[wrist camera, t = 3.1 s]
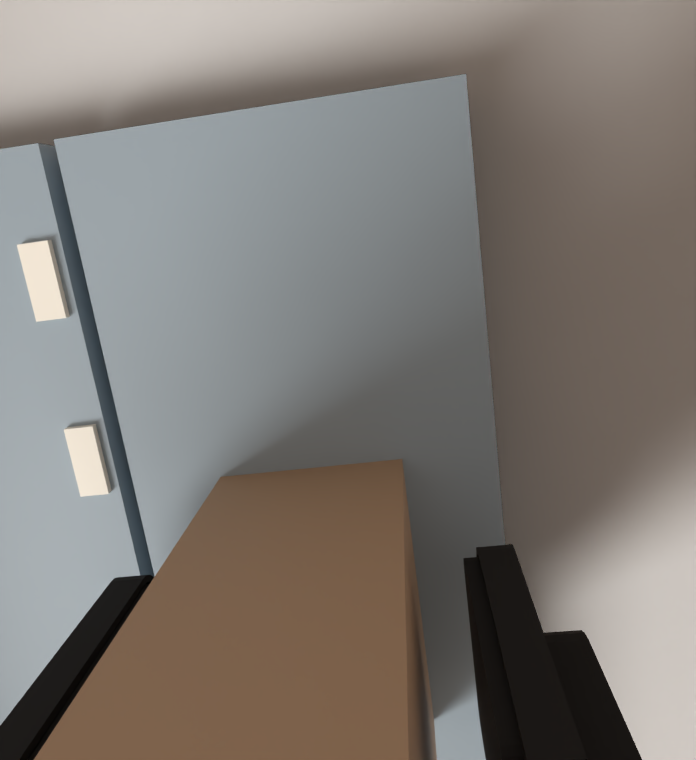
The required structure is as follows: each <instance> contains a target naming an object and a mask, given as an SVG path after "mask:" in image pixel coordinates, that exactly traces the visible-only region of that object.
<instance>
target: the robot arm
mask: <svg viewBox="0 0 696 760" xmlns="http://www.w3.org/2000/svg"><path fill="white" fill-rule="evenodd" d="M463 562H464V573H465V583H466V593H467V603H468V613H469V622H470V632H471V642H472V652H473V662H474V672H475V682H476V692H477V701H478V711H479V719H480V726H481V733H482V739H483V746H484V752H485V758H486V760H642V759H641V757H640V754H639V752H638V750H637V748H636V745H635V743H634V741H633V739H632V736H631V734H630V732H629V730H628V727H627V725H626V723H625V721H624V718H623V716H622V714H621V712H620V709H619V707H618V705H617V703H616V700H615V698H614V696H613V694H612V691H611V689H610V687H609V685H608V682H607V680H606V678H605V676H604V673H603V671H602V669H601V667H600V664H599V662H598V660H597V658H596V655H595V653H594V651H593V649H592V646H591V644H590V642H589V640H588V638H587V636H586V634H585V633H584V632H583V631H582V630H579V631H564V632H550V633H543V630H542V627H541V625H540V622H539V619H538V616H537V613H536V610H535V607H534V604H533V601H532V599H531V596H530V593H529V590H528V587H527V584H526V581H525V578H524V575H523V573H522V570H521V567H520V564H519V561H518V558H517V555H516V552H515V549H514V547H513V545H512V544H509V545H497V546H486V547H476V557H470V558H463ZM153 578H154V577H153V576H152V575H139V576H127V577H117V578H114V579H113V580H112V581H111V582H110V583H109V585H108V586H107V587H106V589H105V590H104V591H103V593H102V594H101V595H100V596H99V598H98V599H97V600H96V602H95V603H94V604H93V606H92V607H91V608H90V610H89V611H88V612H87V613H86V615H85V616H84V617H83V619H82V620H81V621H80V623H79V624H78V625H77V626H76V628H75V629H74V630H73V632H72V633H71V634H70V636H69V637H68V638H67V639H66V641H65V642H64V643H63V645H62V646H61V647H60V649H59V650H58V651H57V652H56V654H55V655H54V656H53V658H52V659H51V660H50V662H49V663H48V664H47V665H46V667H45V668H44V669H43V671H42V672H41V673H40V675H39V676H38V677H37V678H36V680H35V681H34V682H33V684H32V685H31V686H30V688H29V689H28V690H27V691H26V693H25V694H24V695H23V697H22V698H21V699H20V701H19V702H18V703H17V705H16V706H15V707H14V708H13V710H12V711H11V712H10V714H9V715H8V716H7V718H6V719H5V720H4V721H3V723H2V724H1V725H0V760H34V759H35V757H36V756H37V754H38V753H39V751H40V750H41V748H42V747H43V745H44V744H45V742H46V741H47V739H48V737H49V736H50V734H51V733H52V731H53V730H54V728H55V727H56V725H57V724H58V722H59V721H60V719H61V718H62V716H63V715H64V713H65V712H66V710H67V709H68V707H69V706H70V704H71V703H72V701H73V700H74V698H75V697H76V695H77V694H78V692H79V691H80V689H81V687H82V686H83V684H84V683H85V681H86V680H87V678H88V677H89V675H90V674H91V672H92V671H93V669H94V668H95V666H96V665H97V663H98V662H99V660H100V659H101V657H102V656H103V654H104V653H105V651H106V650H107V648H108V647H109V645H110V644H111V642H112V641H113V639H114V638H115V636H116V634H117V633H118V631H119V630H120V628H121V627H122V625H123V624H124V622H125V621H126V619H127V618H128V616H129V615H130V613H131V612H132V610H133V609H134V607H135V606H136V604H137V603H138V601H139V600H140V598H141V597H142V595H143V594H144V592H145V591H146V589H147V588H148V586H149V584H150V583H151V581H152V580H153Z"/></svg>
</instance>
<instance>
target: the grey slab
mask: <svg viewBox="0 0 696 760" xmlns="http://www.w3.org/2000/svg"><path fill="white" fill-rule="evenodd" d="M54 144H55V148H56V152H57V157H58V161H59V165H60V170H61V174H62V178H63V183H64V187H65V191H66V196H67V200H68V204H69V208H70V213H71V217H72V221H73V226H74V230H75V234H76V239H77V243H78V247H79V252H80V256H81V260H82V265H83V269H84V273H85V278H86V282H87V286H88V291H89V295H90V299H91V304H92V308H93V312H94V317H95V321H96V325H97V330H98V334H99V338H100V343H101V347H102V351H103V356H104V360H105V364H106V369H107V373H108V377H109V382H110V386H111V390H112V394H113V399H114V403H115V407H116V412H117V416H118V420H119V425H120V429H121V433H122V438H123V442H124V446H125V451H126V455H127V459H128V464H129V468H130V472H131V477H132V481H133V485H134V490H135V494H136V498H137V503H138V507H139V511H140V516H141V520H142V524H143V529H144V533H145V537H146V542H147V546H148V550H149V555H150V559H151V563H152V568H153V572H154V576H155V577H154V578H153V580H152V581H151V583H150V584H149V586H148V588H147V589H146V591H145V592H144V594H143V595H142V597H141V598H140V600H139V601H138V603H137V604H136V606H135V607H134V609H133V610H132V612H131V613H130V615H129V616H128V618H127V619H126V621H125V622H124V624H123V625H122V627H121V628H120V630H119V631H118V633H117V634H116V636H115V638H114V639H113V641H112V642H111V644H110V645H109V647H108V648H107V650H106V651H105V653H104V654H103V656H102V657H101V659H100V660H99V662H98V663H97V665H96V666H95V668H94V669H93V671H92V672H91V674H90V675H89V677H88V678H87V680H86V681H85V683H84V684H83V686H82V687H81V689H80V691H79V692H78V694H77V695H76V697H75V698H74V700H73V701H72V703H71V704H70V706H69V707H68V709H67V710H66V712H65V713H64V715H63V716H62V718H61V719H60V721H59V722H58V724H57V725H56V727H55V728H54V730H53V731H52V733H51V734H50V736H49V737H48V739H47V741H46V742H45V744H44V745H43V747H42V748H41V750H40V751H39V753H38V754H37V756H36V757H35V759H34V760H486V758H485V752H484V746H483V739H482V733H481V726H480V719H479V711H478V701H477V692H476V682H475V672H474V662H473V652H472V642H471V632H470V622H469V613H468V603H467V593H466V583H465V573H464V562H463V558H470V557H476V547H486V546H497V545H505V536H504V524H503V512H502V500H501V488H500V476H499V464H498V452H497V440H496V428H495V416H494V404H493V392H492V380H491V368H490V356H489V344H488V332H487V320H486V308H485V296H484V284H483V272H482V260H481V248H480V236H479V224H478V212H477V199H476V187H475V175H474V163H473V151H472V139H471V127H470V115H469V103H468V91H467V79H466V74H462V75H456V76H450V77H444V78H437V79H431V80H425V81H418V82H412V83H406V84H399V85H393V86H387V87H380V88H374V89H368V90H362V91H355V92H349V93H343V94H336V95H330V96H324V97H317V98H311V99H305V100H299V101H292V102H286V103H280V104H273V105H267V106H261V107H254V108H248V109H242V110H236V111H229V112H223V113H217V114H210V115H204V116H198V117H191V118H185V119H179V120H173V121H166V122H160V123H154V124H147V125H141V126H135V127H128V128H122V129H116V130H110V131H103V132H97V133H91V134H84V135H78V136H72V137H65V138H59V139H54Z"/></svg>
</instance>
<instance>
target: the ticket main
mask: <svg viewBox="0 0 696 760" xmlns="http://www.w3.org/2000/svg"><path fill="white" fill-rule="evenodd" d="M139 575H152V576H153V577H155V576H154V572H153V568H152V563H151V559H150V555H149V550H148V546H147V542H146V537H145V533H144V529H143V524H142V520H141V516H140V511H139V507H138V503H137V498H136V494H135V490H134V485H133V481H132V477H131V472H130V468H129V464H128V459H127V455H126V451H125V446H124V442H123V438H122V433H121V429H120V425H119V420H118V416H117V412H116V407H115V403H114V399H113V394H112V390H111V386H110V382H109V377H108V373H107V369H106V364H105V360H104V356H103V351H102V347H101V343H100V338H99V334H98V330H97V325H96V321H95V317H94V312H93V308H92V304H91V299H90V295H89V291H88V286H87V282H86V278H85V273H84V269H83V265H82V260H81V256H80V252H79V247H78V243H77V239H76V234H75V230H74V226H73V221H72V217H71V213H70V208H69V204H68V200H67V196H66V191H65V187H64V183H63V178H62V174H61V170H60V165H59V161H58V157H57V152H56V148H55V146H51V145H45V144H40V143H35V144H29V145H23V146H17V147H10V148H4V149H0V725H1V724H2V723H3V721H4V720H5V719H6V718H7V716H8V715H9V714H10V712H11V711H12V710H13V708H14V707H15V706H16V705H17V703H18V702H19V701H20V699H21V698H22V697H23V695H24V694H25V693H26V691H27V690H28V689H29V688H30V686H31V685H32V684H33V682H34V681H35V680H36V678H37V677H38V676H39V675H40V673H41V672H42V671H43V669H44V668H45V667H46V665H47V664H48V663H49V662H50V660H51V659H52V658H53V656H54V655H55V654H56V652H57V651H58V650H59V649H60V647H61V646H62V645H63V643H64V642H65V641H66V639H67V638H68V637H69V636H70V634H71V633H72V632H73V630H74V629H75V628H76V626H77V625H78V624H79V623H80V621H81V620H82V619H83V617H84V616H85V615H86V613H87V612H88V611H89V610H90V608H91V607H92V606H93V604H94V603H95V602H96V600H97V599H98V598H99V596H100V595H101V594H102V593H103V591H104V590H105V589H106V587H107V586H108V585H109V583H110V582H111V581H112V580H113V579H114V578H117V577H127V576H139Z"/></svg>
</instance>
